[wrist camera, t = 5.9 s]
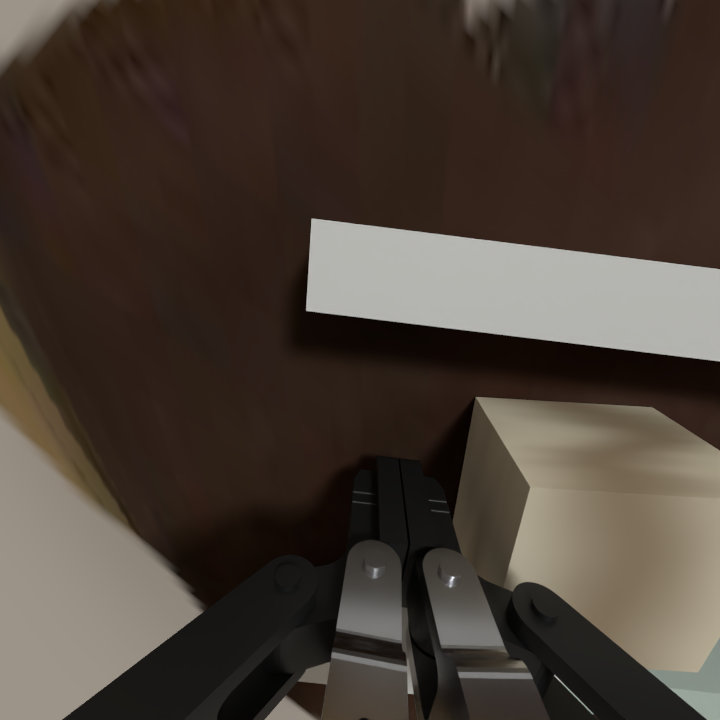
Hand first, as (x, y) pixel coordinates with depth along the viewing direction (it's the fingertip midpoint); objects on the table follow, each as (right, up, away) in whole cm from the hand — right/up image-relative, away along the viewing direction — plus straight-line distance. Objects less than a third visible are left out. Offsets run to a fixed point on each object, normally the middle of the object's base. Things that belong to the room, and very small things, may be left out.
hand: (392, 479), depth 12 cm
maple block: (+6, 0, +1) cm, 6 cm away
